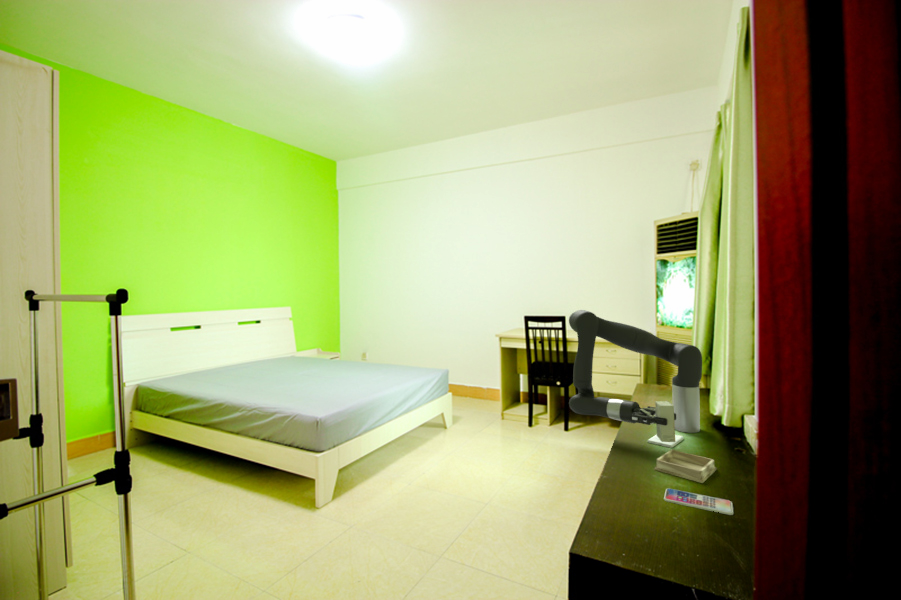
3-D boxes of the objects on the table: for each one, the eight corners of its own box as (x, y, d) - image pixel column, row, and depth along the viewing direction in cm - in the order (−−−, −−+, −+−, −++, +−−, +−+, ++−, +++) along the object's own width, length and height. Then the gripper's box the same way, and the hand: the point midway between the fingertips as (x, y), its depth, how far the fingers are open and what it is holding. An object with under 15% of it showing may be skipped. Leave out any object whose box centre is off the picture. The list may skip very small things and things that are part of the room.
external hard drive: (683, 440, 154) (671, 449, 145) (659, 435, 159) (647, 444, 151) (683, 436, 154) (671, 445, 145) (659, 431, 159) (647, 439, 151)
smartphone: (733, 513, 100) (663, 498, 108) (733, 517, 100) (663, 502, 108) (732, 500, 107) (665, 487, 114) (732, 504, 107) (665, 490, 114)
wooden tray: (670, 458, 136) (670, 448, 136) (716, 469, 127) (716, 459, 126) (654, 469, 127) (654, 459, 127) (702, 483, 118) (702, 472, 118)
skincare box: (675, 442, 138) (674, 405, 138) (661, 442, 139) (660, 405, 139) (669, 436, 144) (668, 400, 144) (655, 435, 145) (654, 400, 145)
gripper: (613, 404, 147) (663, 412, 135) (631, 396, 157) (679, 403, 145) (614, 425, 147) (663, 436, 135) (632, 416, 157) (679, 425, 145)
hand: (671, 419), depth 140 cm, fingers closed on skincare box, 7 cm apart
